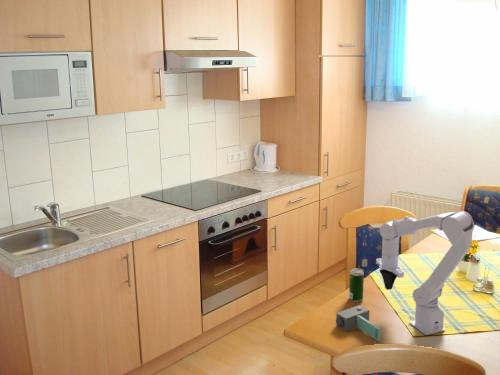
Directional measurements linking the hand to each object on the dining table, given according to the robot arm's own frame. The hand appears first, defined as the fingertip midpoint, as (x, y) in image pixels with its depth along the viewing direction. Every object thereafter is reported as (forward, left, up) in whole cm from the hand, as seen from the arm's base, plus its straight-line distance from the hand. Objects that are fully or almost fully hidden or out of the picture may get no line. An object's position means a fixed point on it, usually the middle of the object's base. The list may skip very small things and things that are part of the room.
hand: (388, 288), depth 198 cm
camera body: (-3, +17, -9) cm, 20 cm away
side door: (-12, +16, -9) cm, 22 cm away
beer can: (+14, +5, -10) cm, 18 cm away
